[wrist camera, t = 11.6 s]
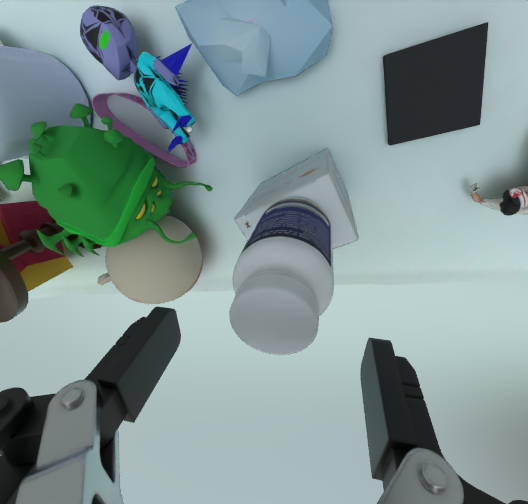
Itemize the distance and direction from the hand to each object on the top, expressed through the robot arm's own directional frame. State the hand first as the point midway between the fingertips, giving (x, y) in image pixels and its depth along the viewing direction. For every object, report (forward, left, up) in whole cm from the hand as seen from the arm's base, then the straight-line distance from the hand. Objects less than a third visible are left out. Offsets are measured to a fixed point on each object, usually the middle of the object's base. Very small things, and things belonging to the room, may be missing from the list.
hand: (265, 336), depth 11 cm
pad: (-9, +10, -21) cm, 25 cm away
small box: (0, 0, -21) cm, 21 cm away
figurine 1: (-6, -9, -17) cm, 20 cm away
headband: (-6, -16, -23) cm, 28 cm away
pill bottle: (0, 0, -11) cm, 11 cm away
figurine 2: (+2, -16, -16) cm, 23 cm away
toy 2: (+4, -16, -12) cm, 21 cm away
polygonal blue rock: (-13, -5, -21) cm, 25 cm away
